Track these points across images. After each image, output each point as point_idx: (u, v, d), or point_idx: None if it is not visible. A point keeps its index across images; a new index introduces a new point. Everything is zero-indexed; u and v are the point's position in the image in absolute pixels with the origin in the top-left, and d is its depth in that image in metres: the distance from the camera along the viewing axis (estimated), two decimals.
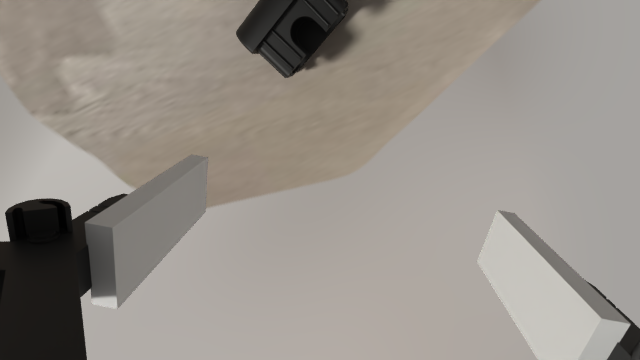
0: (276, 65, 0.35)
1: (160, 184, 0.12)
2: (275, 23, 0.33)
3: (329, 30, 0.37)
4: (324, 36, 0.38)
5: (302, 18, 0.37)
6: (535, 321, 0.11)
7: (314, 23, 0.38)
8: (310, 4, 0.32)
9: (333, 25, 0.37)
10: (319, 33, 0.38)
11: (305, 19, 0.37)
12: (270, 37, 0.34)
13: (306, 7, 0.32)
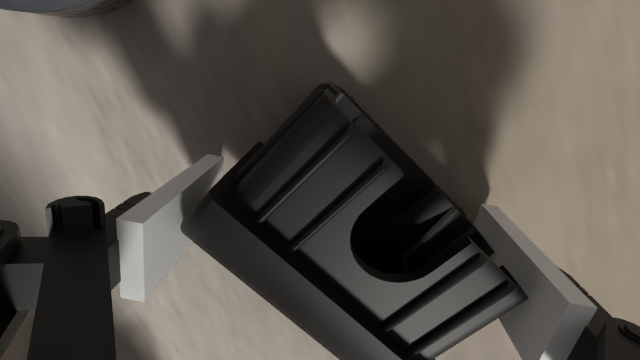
0: (485, 324, 0.11)
1: (182, 182, 0.12)
2: (366, 323, 0.11)
3: (377, 134, 0.13)
4: (387, 143, 0.15)
5: None
6: (512, 309, 0.12)
7: None
8: (317, 219, 0.10)
9: (366, 123, 0.13)
10: None
11: None
12: (402, 333, 0.11)
13: (325, 232, 0.10)
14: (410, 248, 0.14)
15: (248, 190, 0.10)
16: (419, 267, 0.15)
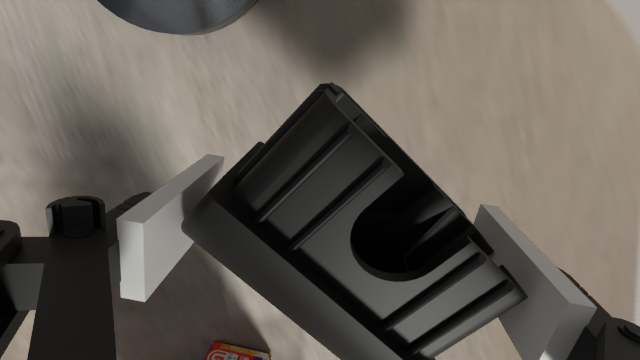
0: (485, 324, 0.11)
1: (182, 182, 0.12)
2: (366, 322, 0.11)
3: (378, 134, 0.13)
4: (387, 143, 0.15)
5: None
6: (512, 309, 0.12)
7: None
8: (317, 218, 0.10)
9: (366, 123, 0.13)
10: None
11: None
12: (402, 332, 0.11)
13: (325, 231, 0.10)
14: (409, 247, 0.14)
15: (248, 189, 0.10)
16: (419, 266, 0.15)
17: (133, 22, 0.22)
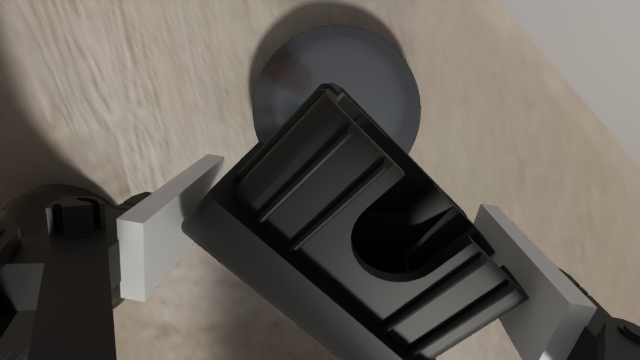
0: (486, 324, 0.11)
1: (182, 182, 0.12)
2: (367, 323, 0.11)
3: (378, 134, 0.13)
4: (388, 143, 0.15)
5: None
6: (512, 309, 0.12)
7: None
8: (318, 219, 0.10)
9: (366, 123, 0.13)
10: None
11: None
12: (403, 333, 0.11)
13: (326, 231, 0.10)
14: (410, 248, 0.14)
15: (249, 189, 0.10)
16: (420, 267, 0.15)
17: None
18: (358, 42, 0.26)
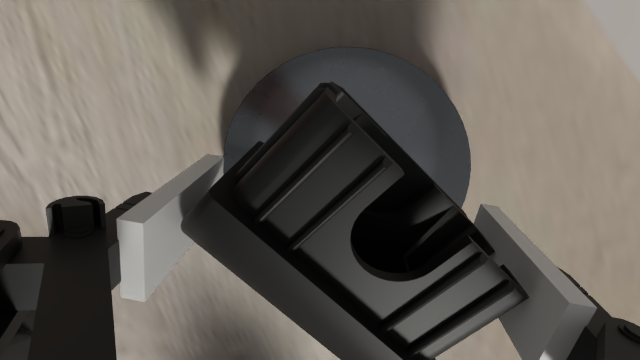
0: (486, 324, 0.11)
1: (182, 182, 0.12)
2: (366, 323, 0.11)
3: (378, 133, 0.13)
4: (388, 142, 0.15)
5: None
6: (512, 309, 0.12)
7: None
8: (317, 218, 0.10)
9: (366, 122, 0.13)
10: None
11: None
12: (402, 332, 0.11)
13: (325, 230, 0.10)
14: (410, 247, 0.14)
15: (248, 188, 0.10)
16: (419, 266, 0.15)
17: None
18: (383, 73, 0.17)
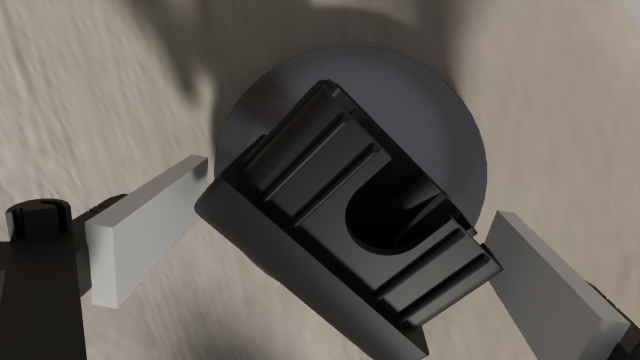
0: (466, 294, 0.12)
1: (160, 184, 0.12)
2: (360, 292, 0.12)
3: (371, 126, 0.15)
4: (380, 135, 0.16)
5: None
6: (535, 322, 0.11)
7: None
8: (316, 198, 0.11)
9: (360, 116, 0.15)
10: None
11: None
12: (392, 302, 0.12)
13: (323, 209, 0.11)
14: (401, 230, 0.16)
15: (255, 172, 0.11)
16: None
17: None
18: (390, 75, 0.16)
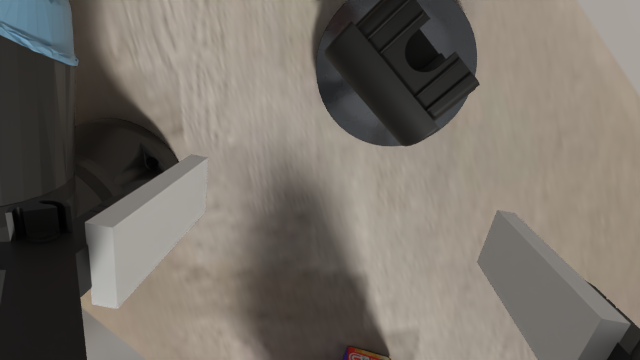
0: (460, 97, 0.25)
1: (160, 184, 0.12)
2: (408, 90, 0.25)
3: None
4: (418, 32, 0.28)
5: None
6: (535, 321, 0.11)
7: None
8: (392, 38, 0.24)
9: None
10: (413, 39, 0.29)
11: None
12: (423, 100, 0.25)
13: (395, 45, 0.24)
14: None
15: (364, 24, 0.24)
16: None
17: (357, 136, 0.33)
18: None
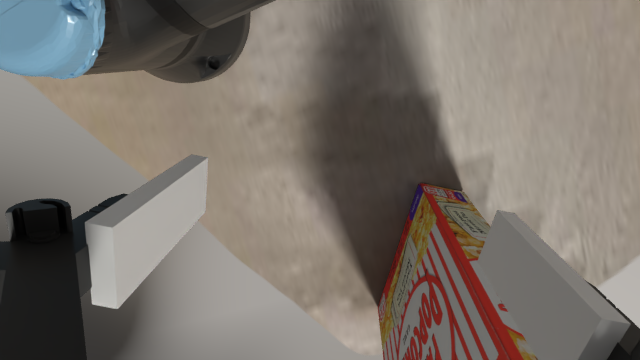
0: None
1: (160, 184, 0.12)
2: None
3: None
4: None
5: None
6: (535, 322, 0.11)
7: None
8: None
9: None
10: None
11: None
12: None
13: None
14: None
15: None
16: None
17: None
18: None
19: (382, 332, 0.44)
